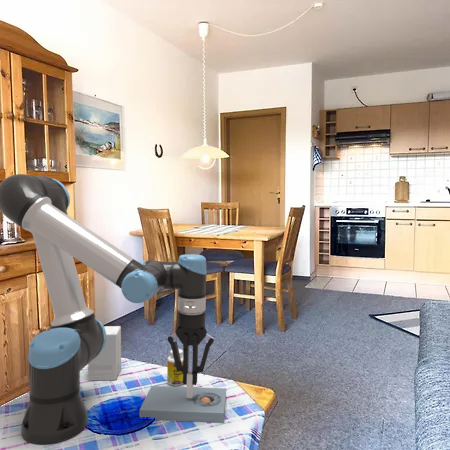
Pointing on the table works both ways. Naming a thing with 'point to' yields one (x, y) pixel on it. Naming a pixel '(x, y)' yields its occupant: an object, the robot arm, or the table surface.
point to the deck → (184, 404)
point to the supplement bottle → (174, 370)
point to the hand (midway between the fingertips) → (189, 395)
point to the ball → (205, 400)
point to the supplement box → (107, 357)
